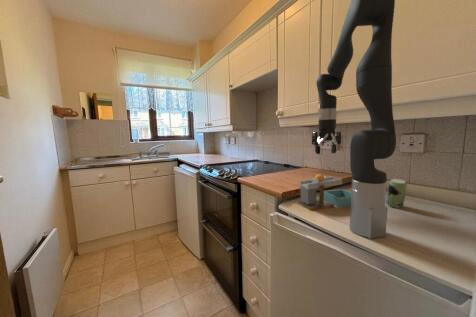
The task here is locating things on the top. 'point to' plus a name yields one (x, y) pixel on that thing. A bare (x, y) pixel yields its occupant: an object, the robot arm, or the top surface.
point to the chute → (310, 188)
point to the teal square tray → (338, 197)
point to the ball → (319, 177)
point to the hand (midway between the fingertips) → (325, 153)
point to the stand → (318, 201)
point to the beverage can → (396, 193)
